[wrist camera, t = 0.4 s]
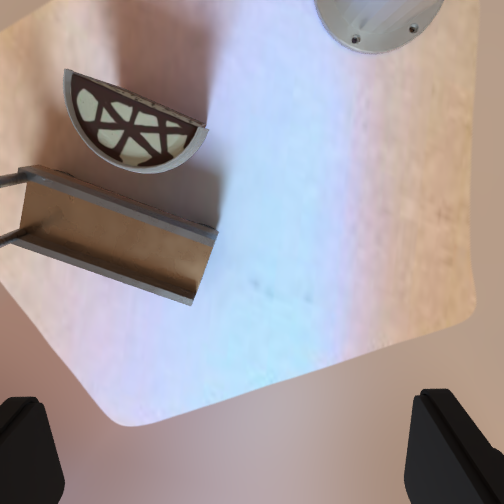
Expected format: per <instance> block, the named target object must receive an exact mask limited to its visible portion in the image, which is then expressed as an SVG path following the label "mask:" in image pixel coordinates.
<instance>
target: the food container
mask: <svg viewBox="0 0 504 504" xmlns="http://www.w3.org/2000/svg"><path fill="white" fill-rule="evenodd" d="M63 93H64V99H65V104H66V108H67V111H68V114H69V117H70V119H71V121H72V123H73V126H74V127H75V129H76V131H77V132H78V134H79V135H80V137H81V138H82V140H83V141H84V142H85V143H86V144H87V146H88V147H89V148H90V149H91V150H92V151H94V152H95V153H96V154H97V155H98V156H99V157H101V158H102V159H104V160H105V161H107V162H109V163H110V164H112V165H114V166H116V167H119V168H122V169H125V170H128V171H132V172H137V173H143V174H146V173H160V172H165V171H168V170H171V169H173V168H175V167H177V166H179V165H181V164H183V163H184V162H185V161H187V160H188V159H189V158H190V157H192V156H193V154H194V153H195V152H196V151H197V150H198V149H199V147H200V146H201V144H202V143H203V141H204V140H205V138H206V135H207V133H208V131H209V129H206V128H205V127H206V124H204V123H202V122H200V121H198V120H195V119H193V118H191V117H188V116H186V115H184V114H181V113H179V112H177V111H175V110H172V109H170V108H168V107H165V106H163V105H161V104H158V103H156V102H154V101H152V100H149V99H147V98H145V97H142V96H140V95H138V94H135V93H133V92H131V91H129V90H126V89H124V88H121V87H118V86H115V85H112V84H109V83H106V82H103V81H100V80H97V79H94V78H91V77H88V76H85V75H82V74H79V73H76V72H73V71H72V70H69V69H64V77H63Z"/></svg>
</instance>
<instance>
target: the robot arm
mask: <svg viewBox="0 0 504 504" xmlns="http://www.w3.org/2000/svg"><path fill="white" fill-rule="evenodd" d="M443 2H444V0H314V3H315V7H316V10H317V13H318V16H319V18H320V20H321V22H322V24H323V26H324V28H325V29H326V30H327V32H328V33H329V34H330V35H331V36H332V38H333V39H335V40H336V41H337V42H338V43H340V44H341V45H342V46H344V47H346V48H348V49H350V50H352V51H355V52H359V53H363V54H380V53H386V52H390V51H392V50H395V49H397V48H400V47H402V46H403V45H405V44H407V43H409V42H410V41H412V40H413V39H414V38H416V37H417V36H418V35H420V34H421V33H422V32H423V31H424V30H425V29H426V27H427V26H428V25H429V24H430V23H431V22H432V20H433V19H434V17H435V16H436V15H437V13H438V12H439V10H440V8H441V6H442V4H443ZM409 28H412V30H413V32H412V33H411V32H410V30H409ZM353 38H354V39H356V43H355V44H354V43H352V39H353ZM404 483H405V488H406V492H407V494H408V497H409V499H410V502H411V504H504V455H503V454H502V453H501V452H500V451H499V450H497V449H495V448H493V447H492V446H491V445H490V443H489V442H488V441H487V439H486V438H485V436H484V435H483V434H482V432H481V431H480V430H479V429H478V427H477V426H476V425H475V423H474V422H473V420H472V419H471V418H470V416H469V415H468V414H467V412H466V411H465V410H464V408H463V407H462V406H461V404H460V403H459V402H458V400H457V399H456V398H455V396H454V395H453V393H452V392H451V391H450V390H448V389H423V390H422V391H421V393H420V395H417V396H415V397H414V400H413V408H412V416H411V424H410V432H409V440H408V448H407V456H406V464H405V472H404ZM64 486H65V480H64V476H63V472H62V468H61V465H60V461H59V458H58V454H57V451H56V447H55V443H54V439H53V436H52V432H51V429H50V425H49V422H48V418H47V414H46V411H45V408H44V405H43V404H42V403H39V401H38V399H37V398H36V397H10V398H8V399H7V400H6V401H4V402H3V404H2V405H0V504H58V502H59V501H60V499H61V497H62V494H63V491H64Z"/></svg>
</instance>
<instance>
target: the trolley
mask: <svg viewBox="0 0 504 504" xmlns="http://www.w3.org/2000/svg"><path fill="white" fill-rule="evenodd" d="M25 182H27V187H26V192H25V198H24V204H23V210H22V216H21V222H20V228H19V229H17V230H14V231H12V232H9V233H7V234H4V235H2V236H0V248H1V247H3V246H5V245H8V244H10V243H11V244H14V245H17V246H20V247H22V248H25V249H28V250H31V251H34V252H37V253H40V254H42V255H45V256H48V257H51V258H54V259H57V260H60V261H63V262H65V263H68V264H71V265H74V266H77V267H80V268H83V269H85V270H88V271H91V272H94V273H97V274H100V275H103V276H106V277H108V278H111V279H114V280H117V281H120V282H123V283H126V284H128V285H131V286H134V287H137V288H140V289H143V290H146V291H149V292H151V293H154V294H157V295H160V296H163V297H166V298H169V299H172V300H174V301H177V302H180V303H183V304H186V305H189V306H191V305H192V303H193V300H194V298H195V295H196V293H197V290H198V287H199V285H200V282H201V280H202V277H203V274H204V271H205V268H206V265H207V263H208V260H209V257H210V254H211V252H212V249H213V246H214V244H215V241H216V239H217V236H218V233H219V232H218V231H217V230H215V229H214V228H212V227H210V226H207V225H204V224H199V223H194V222H192V221H189V220H186V219H183V218H181V217H178V216H175V215H173V214H170V213H167V212H165V211H162V210H159V209H157V208H154V207H151V206H149V205H146V204H143V203H140V202H138V201H135V200H132V199H130V198H127V197H124V196H122V195H119V194H116V193H114V192H111V191H108V190H106V189H103V188H100V187H97V186H95V185H92V184H89V183H87V182H84V181H81V180H79V179H76V178H74V177H73V176H72V175H70V174H68V173H65V172H62V171H58V170H52V169H49V168H46V167H44V166H41V165H33V166H27V167H20V168H18V173H14V174H8V175H2V176H0V188H2V187H7V186H12V185H16V184H21V183H25Z"/></svg>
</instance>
